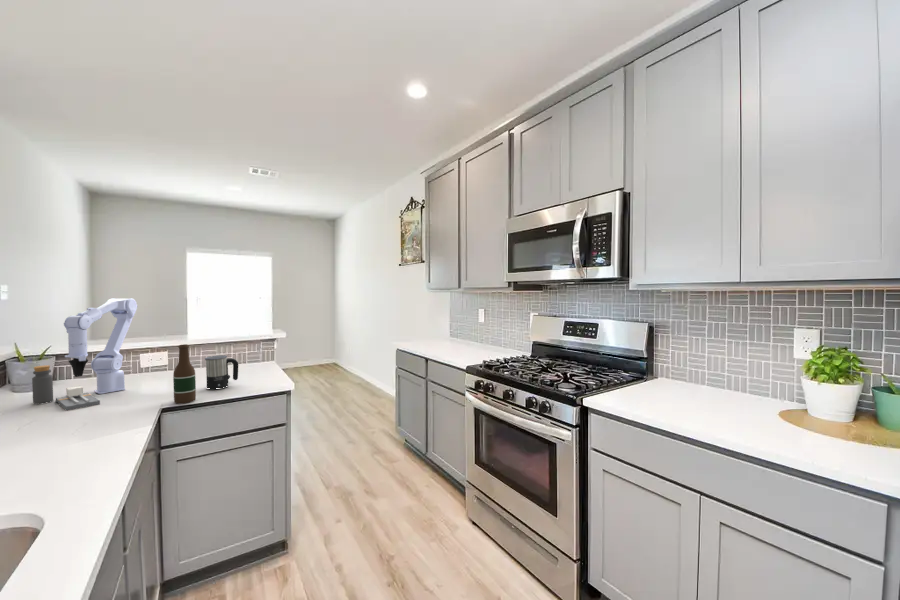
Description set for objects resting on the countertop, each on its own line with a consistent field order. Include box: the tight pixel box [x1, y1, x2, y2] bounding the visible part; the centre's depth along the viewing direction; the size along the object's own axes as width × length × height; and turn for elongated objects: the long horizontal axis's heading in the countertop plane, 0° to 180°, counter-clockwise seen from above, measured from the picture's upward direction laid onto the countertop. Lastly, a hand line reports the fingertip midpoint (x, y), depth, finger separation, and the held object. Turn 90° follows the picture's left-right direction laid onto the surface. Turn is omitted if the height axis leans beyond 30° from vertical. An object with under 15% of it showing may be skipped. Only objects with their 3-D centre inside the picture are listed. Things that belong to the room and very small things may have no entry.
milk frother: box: [204, 355, 239, 389], centre depth 191 cm, size 14×16×15 cm
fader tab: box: [65, 385, 84, 397], centre depth 165 cm, size 4×4×4 cm
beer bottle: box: [172, 344, 197, 405], centre depth 165 cm, size 8×8×24 cm
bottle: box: [31, 364, 54, 405], centre depth 163 cm, size 6×6×15 cm
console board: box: [55, 392, 101, 411], centre depth 163 cm, size 10×19×2 cm, turn 54°
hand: (78, 376), depth 165 cm, fingers closed
